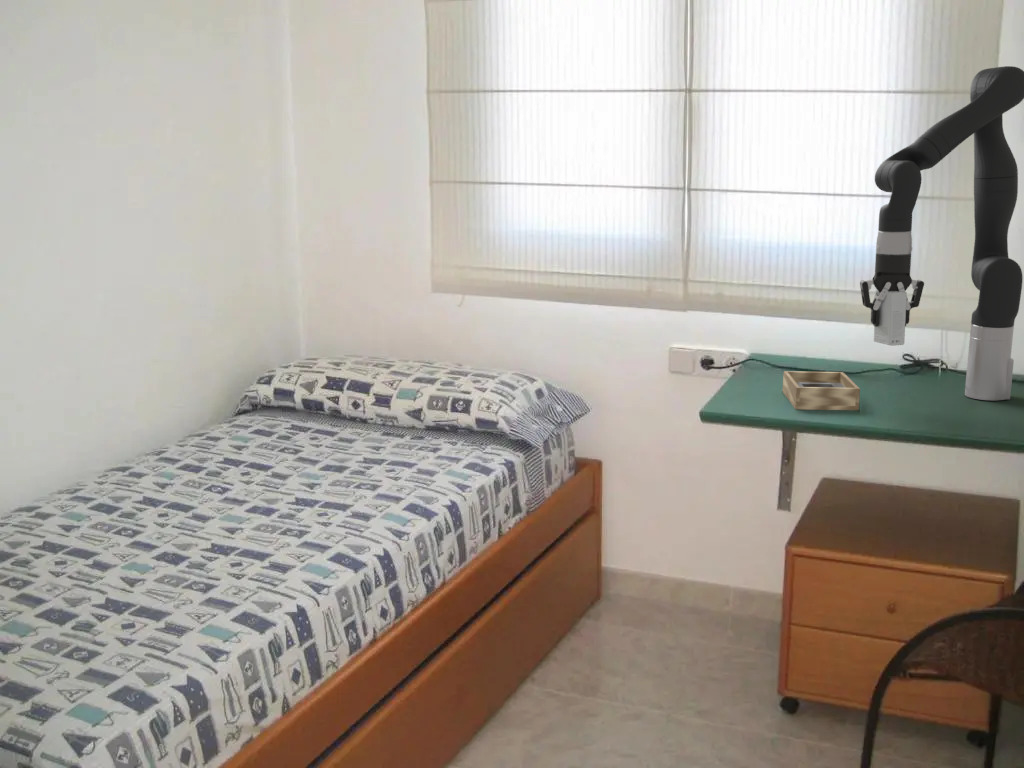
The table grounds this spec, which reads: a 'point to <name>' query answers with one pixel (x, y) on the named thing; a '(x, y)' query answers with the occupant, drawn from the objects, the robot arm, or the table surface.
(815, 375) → the crate
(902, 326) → the skincare box
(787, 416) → the table surface
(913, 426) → the table surface
